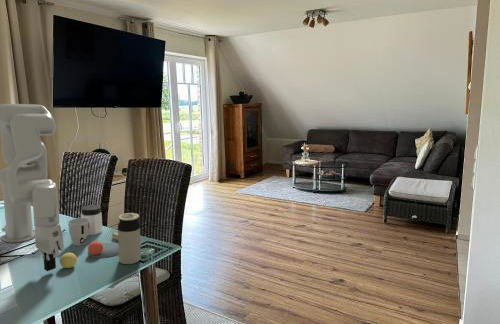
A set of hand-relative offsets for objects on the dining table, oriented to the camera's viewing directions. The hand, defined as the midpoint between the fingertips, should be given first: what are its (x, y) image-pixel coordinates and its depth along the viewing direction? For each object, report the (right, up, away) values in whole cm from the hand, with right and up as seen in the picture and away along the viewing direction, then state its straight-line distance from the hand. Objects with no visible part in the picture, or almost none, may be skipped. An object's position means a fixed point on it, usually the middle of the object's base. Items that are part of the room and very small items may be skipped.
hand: (50, 269), depth 122 cm
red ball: (+9, +4, +15) cm, 18 cm away
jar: (-3, +5, +38) cm, 38 cm away
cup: (-2, +3, +26) cm, 26 cm away
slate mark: (+12, +2, +20) cm, 23 cm away
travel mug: (+24, -1, +12) cm, 27 cm away
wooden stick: (+17, +3, +28) cm, 33 cm away
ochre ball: (+4, +2, +4) cm, 6 cm away
